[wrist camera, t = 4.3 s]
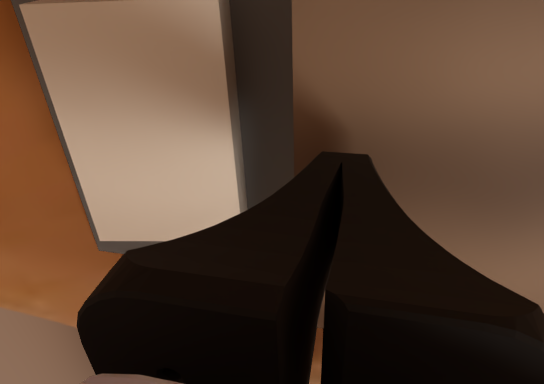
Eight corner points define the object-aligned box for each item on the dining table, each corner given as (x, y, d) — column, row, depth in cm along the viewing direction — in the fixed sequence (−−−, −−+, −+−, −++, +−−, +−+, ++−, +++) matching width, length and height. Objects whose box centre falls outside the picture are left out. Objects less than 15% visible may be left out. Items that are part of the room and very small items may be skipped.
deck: (546, 285, 17) (585, 370, 14) (311, 257, 19) (296, 324, 16) (736, -141, 9) (925, -183, 6) (316, -109, 12) (290, -128, 8)
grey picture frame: (300, 271, 20) (299, 277, 19) (103, 245, 22) (98, 250, 22) (298, -153, 11) (296, -156, 11) (-23, -122, 14) (-33, -123, 13)
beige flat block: (99, 240, 17) (118, 213, 18) (242, 241, 16) (247, 213, 18) (18, 4, 12) (53, -4, 14) (218, -4, 11) (228, -11, 13)
